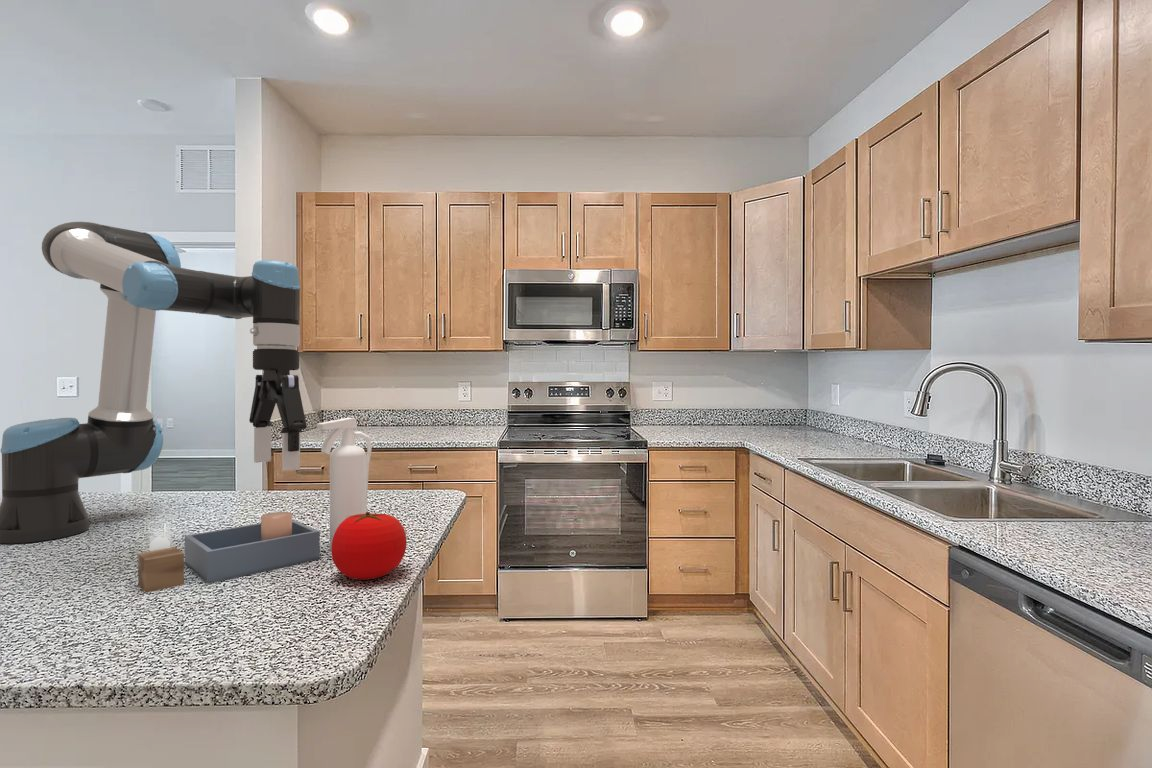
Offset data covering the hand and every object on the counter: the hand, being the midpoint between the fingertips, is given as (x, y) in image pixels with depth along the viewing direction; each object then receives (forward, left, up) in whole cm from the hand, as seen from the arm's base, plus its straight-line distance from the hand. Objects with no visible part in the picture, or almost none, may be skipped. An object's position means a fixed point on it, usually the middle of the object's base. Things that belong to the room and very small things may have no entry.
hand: (276, 466), depth 107 cm
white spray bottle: (+4, +12, -17) cm, 21 cm away
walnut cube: (+2, -18, -17) cm, 24 cm away
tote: (0, -4, -16) cm, 17 cm away
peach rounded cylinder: (0, 0, -16) cm, 16 cm away
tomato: (+21, +7, -17) cm, 28 cm away
